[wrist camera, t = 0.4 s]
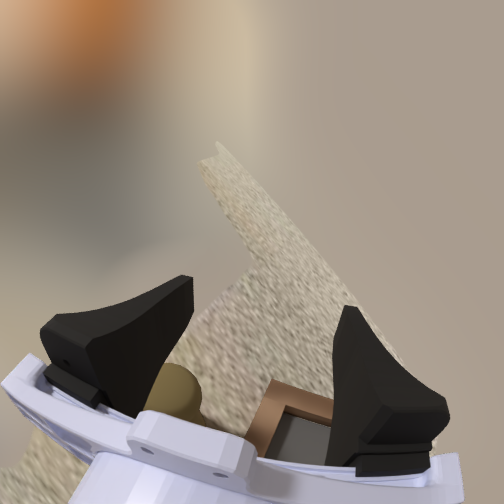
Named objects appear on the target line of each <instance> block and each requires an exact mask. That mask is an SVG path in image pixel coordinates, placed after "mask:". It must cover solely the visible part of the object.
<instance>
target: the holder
mask: <svg viewBox="0 0 504 504" xmlns="http://www.w3.org/2000/svg"><path fill="white" fill-rule="evenodd" d="M333 405H334V400H333V399H329V398H326V397H323V396H320V395H317V394H314V393H311V392H308V391H305V390H302V389H299V388H296V387H293V386H290V385H287V384H285V383H282V382H279V381H277V380H274V379H271V381H270V384H269V386H268V388H267V390H266V393H265V395H264V397H263V399H262V402H261V404H260V406H259V408H258V410H257V412H256V415H255V417H254V419H253V421H252V423H251V425H250V427H249V429H248V431H247V433H246V436H245V438H244V439H245V440H247V441H248V442H250V443H251V444H253V445H254V446H255V448H256V450H257V453H258V455H257V457H260V458H266V459H272V460H278V461H284V462H291V463H299V464H308V465H319V466H324V464H325V459H326V454H327V449H328V443H329V437H330V430H331V428H329V427H331V423H332V415H333ZM283 412H285V413H288V414H291V415H293V416H291V415H288V414H285V413H283ZM282 413H283V414H282ZM294 416H296V417H294ZM297 417H299V418H297ZM280 418H281V419H280ZM300 418H303V419H306V420H309V421H312V422H315V423H312V422H309V421H306V420H303V419H300ZM279 420H280V421H279ZM278 423H279V424H278ZM316 423H319V424H322V425H325V426H322V425H319V424H316ZM277 425H278V426H277ZM326 426H329V427H326ZM276 428H277V429H276ZM275 430H276V431H275ZM273 435H274V436H273ZM272 437H273V438H272ZM270 442H271V443H270ZM269 444H270V445H269ZM267 449H268V450H267ZM266 451H267V452H266ZM265 453H266V454H265Z"/></svg>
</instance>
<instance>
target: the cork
mask: <svg viewBox="0 0 504 504" xmlns="http://www.w3.org/2000/svg"><path fill="white" fill-rule="evenodd" d="M201 401H202V392H201V387H200V385H199V383H198V381H197V379H196V377H195V376H194V375H193V374H192V373H191V372H190V371H189V370H188V369H186V368H184V367H182V366H181V365H177V364H173V363H164V364H163V366H162V368H161V370H160V372H159V374H158V376H157V378H156V380H155V382H154V385H153V387H152V389H151V392H150V394H149V396H148V399H147V402H146V404H145V407H144V409H143V411H147V410H152V411H156V412H161V413H164V414H167V415H170V416H172V417H175V418H178V419H181V420H184V421H188V422H191V423H194V424H197V425H201V426H204V427H206V423H205V421H204V419H203V417H202V414H201V412H200V410H199V409H200V405H201Z"/></svg>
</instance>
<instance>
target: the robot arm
mask: <svg viewBox="0 0 504 504" xmlns="http://www.w3.org/2000/svg"><path fill="white" fill-rule="evenodd" d="M193 312H194V295H193V277H189V276H185V275H180V276H178V277H176V278H174V279H172V280H170V281H168V282H166V283H164V284H162V285H160V286H158V287H156V288H154V289H152V290H150V291H148V292H146V293H144V294H141V295H139V296H137V297H135V298H133V299H130V300H127V301H125V302H122V303H119V304H116V305H113V306H109V307H105V308H101V309H97V310H91V311H86V312H79V313H66V314H56V315H55V316H54V317H53V318H52V319H51V320H50V321H48V322H47V323H46V324H45V325H44V326H43V327H42V328H41V329H40V338H41V341H42V344H43V346H44V348H45V350H46V352H47V354H48V356H49V358H50V360H51V362H52V363H51V364H50V365H49V366H47V365H46V364H45V363H44V362H43V361H41V360H40V359H38V358H37V357H35V356H34V355H32V354H31V353H29V354H28V355H27V356H26V357H25V358H24V359H23V360H22V361H21V362H20V363H19V364H18V365H17V366H16V367H15V368H14V370H13V371H12V372H11V373H10V374H9V375H8V376H7V377H6V378H5V379H4V380H3V381H2V382H1V387H2V388H3V389H4V391H5V392H6V394H7V395H8V396H9V398H10V399H11V400H12V402H13V403H14V404H15V406H16V407H17V408H18V409H19V410H20V412H21V413H22V414H23V415H24V416H25V417H26V418H27V419H28V420H29V421H31V422H32V423H33V424H34V425H35V426H37V427H38V428H39V429H40V430H41V431H43V432H44V433H45V434H46V435H48V436H49V437H50V438H52V439H53V440H54V441H55V442H57V443H58V444H59V445H61V446H62V447H63V448H65V449H66V450H67V451H69V452H70V453H72V454H73V455H74V456H76V457H77V458H79V459H80V460H82V461H83V462H85V463H86V464H88V465H89V466H90V467H89V468H88V470H87V472H86V473H85V475H84V477H83V478H82V480H81V482H80V483H79V485H78V487H77V488H76V490H75V492H74V494H73V495H72V497H71V499H70V500H69V502H68V504H461V503H463V502H464V500H465V498H464V489H463V481H462V474H461V467H460V461H459V456H458V452H453V453H447V454H440V455H435V456H433V457H431V458H430V457H429V451H431V450H432V442H431V441H432V440H433V439H434V438H435V437H437V436H438V435H439V434H440V433H441V431H443V430H444V428H445V427H446V426H447V425H448V423H449V420H450V414H449V410H448V406H447V402H446V399H445V398H444V397H443V396H441V395H440V394H438V393H436V392H435V391H433V390H431V389H429V388H428V387H426V386H425V385H424V384H423V383H421V382H420V381H418V380H417V379H416V378H415V377H413V376H412V375H411V374H410V373H409V372H408V371H407V370H405V369H404V368H403V367H402V366H401V365H400V364H399V363H398V362H397V361H396V360H395V359H394V358H393V356H392V355H391V354H390V353H389V352H388V351H387V350H386V348H385V347H384V346H383V345H382V343H381V342H380V341H379V339H378V338H377V337H376V335H375V334H374V332H373V331H372V329H371V328H370V326H369V325H368V323H367V322H366V320H365V318H364V317H363V315H362V314H361V312H360V311H359V309H358V308H357V307H354V306H348V305H344V308H343V312H342V315H341V318H340V321H339V324H338V327H337V330H336V333H335V336H334V340H333V353H332V362H333V384H334V405H333V415H332V423H331V430H330V437H329V443H328V449H327V454H326V459H325V464H324V466H319V465H308V464H299V463H291V462H284V461H278V460H272V459H266V458H260V457H257V455H258V453H257V450H256V448H255V446H254V445H253V444H251V443H250V442H248V441H247V440H245V439H244V438H241V437H238V436H236V435H233V434H230V433H226V432H222V431H219V430H215V429H211V428H208V427H204V426H201V425H197V424H194V423H191V422H188V421H184V420H181V419H178V418H175V417H172V416H170V415H167V414H164V413H161V412H156V411H152V410H147V411H143V409H144V407H145V404H146V402H147V399H148V396H149V394H150V392H151V389H152V387H153V385H154V382H155V380H156V378H157V376H158V374H159V372H160V370H161V368H162V366H163V364H164V362H165V360H166V359H167V357H168V356H169V354H170V352H171V351H172V349H173V348H174V346H175V345H176V343H177V342H178V340H179V339H180V337H181V336H182V334H183V332H184V331H185V329H186V328H187V326H188V324H189V321H190V319H191V317H192V315H193Z"/></svg>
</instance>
